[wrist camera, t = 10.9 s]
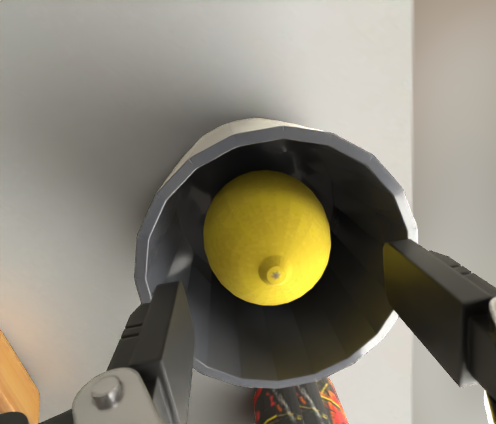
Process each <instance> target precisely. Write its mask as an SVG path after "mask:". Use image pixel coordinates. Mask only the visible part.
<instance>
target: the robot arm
mask: <svg viewBox="0 0 496 424" xmlns="http://www.w3.org/2000/svg"><path fill="white" fill-rule="evenodd" d="M383 267H384V287H385V293H386V297H387V300H388V302H389V304H390V306H391V307H392V308H393V310H394V311H395V312H396V313H397V314H398V315H399V317H400V318H401V319H402V320H403V321H404V322H405V324H406V325H407V326H408V327H409V328H410V329H411V331H412V332H413V333H414V334H415V335H416V336H417V338H418V339H419V340H420V341H421V342H422V343H423V345H424V346H425V347H426V348H427V349H428V351H429V352H430V353H431V354H432V355H433V356H434V357H435V359H436V360H437V361H438V362H439V363H440V365H441V366H442V367H443V368H444V369H445V370H446V372H447V373H448V374H449V375H450V376H451V377H452V379H453V380H454V381H455V382H456V383H457V384H458V385H459V387H465V386H470V385H475V384H480V385H481V386H482V387H483V388H484V405H485V410H486V414H487V418H488V422H489V424H496V288H495V287H493V286H492V285H490V284H489V283H487V282H486V281H484V280H483V279H481V278H480V277H478V276H477V275H475V274H474V273H471V271H469V270H468V269H466V268H465V267H463V266H460V264H459V263H457V262H456V261H454V260H453V259H451V258H449V257H448V256H445V255H442V254H439V253H436V252H433V251H427V250H426V249H424V248H423V247H422V246H420V245H418V244H417V243H416V242H414V241H413V240H411V239H405V240H399V241H394V242H389V243H385V244H384V246H383ZM125 328H126V329H124V331H123V333H122V336H121V339H120V340H119V343H118V345H117V347H116V350H115V352H114V354H113V357H112V359H111V361H110V364H109V366H108V368H107V371H106V372H104V373H102V374H100V375H98V376H96V377H95V378H93V379H92V380H90V381H89V382H88V383H87V384H86V385H85V386H84V387H83V388H82V389H81V390H80V391H79V392H78V394H77V395H76V397H75V399H74V401H73V404H72V409H70V410H68V411H66V412H64V413H62V414H60V415H57V416H55V417H53V418H50V419H48V420H46V421H44V422H41V423H39V424H187V415H188V406H189V396H190V387H191V377H192V367H193V358H194V348H195V333H194V326H193V322H192V317H191V313H190V309H189V305H188V301H187V297H186V293H185V289H184V286H183V283H182V281H176V282H170V283H165V284H159V285H157V286H156V288H155V291H154V293H153V296H152V299H151V302H149V303H144V304H141V305H140V306H139V307H138V308H137V309H136V310H135V311H134V312H133V313H132V314H131V315H130V317H129V319H128V322H127V324H126V326H125ZM0 424H30V423H29V421H28V418H27V416H26V415H25V414H23V413H21V412H6V413H3V414H0Z"/></svg>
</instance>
